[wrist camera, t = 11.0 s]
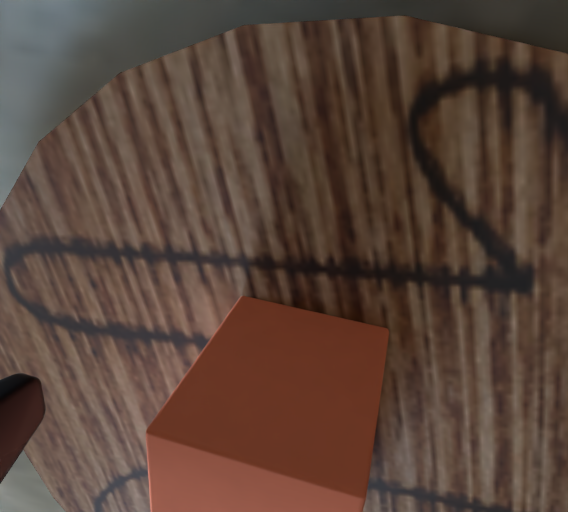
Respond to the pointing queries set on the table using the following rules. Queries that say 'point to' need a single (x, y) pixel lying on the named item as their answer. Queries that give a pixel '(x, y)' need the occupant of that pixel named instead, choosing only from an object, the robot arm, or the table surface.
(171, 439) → the orange rectangular block
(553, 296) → the trivet
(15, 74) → the table surface
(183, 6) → the table surface
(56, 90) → the table surface
